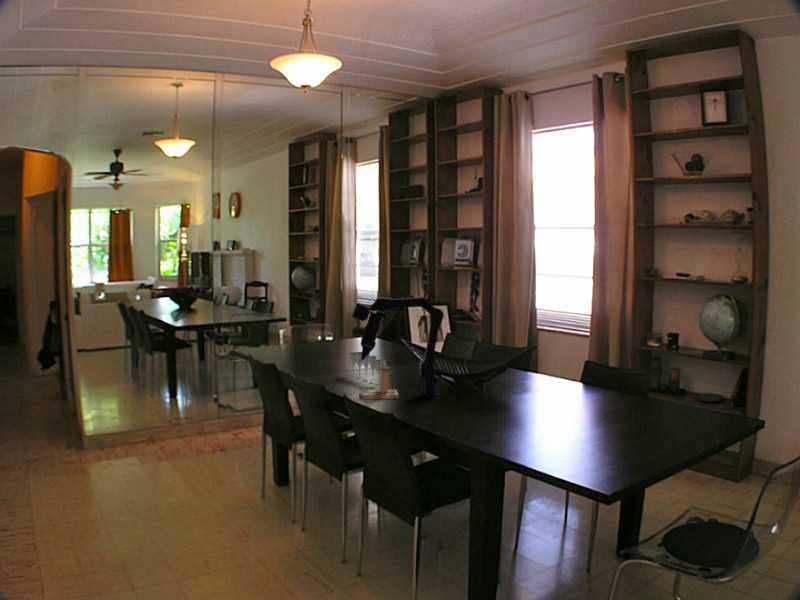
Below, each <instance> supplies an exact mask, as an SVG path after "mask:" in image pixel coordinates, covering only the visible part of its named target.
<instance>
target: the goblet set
mask: <svg viewBox="0 0 800 600" xmlns="http://www.w3.org/2000/svg"><path fill="white" fill-rule="evenodd" d="M361 357H362V351H357V352H349V354H348V360H349V362H350V363H351V366H352V374H351V375H348V377H349V378H354V379H355V380H359V379H360V380H361V381H362V382H368V384H371V385H373V384H374V386H375V387H380V373H381V370H380V366H387V364H386V360H385V359H378V358H377V356H376V355H371V354H370V353H369V354H368V355H367V357H366V358H365V359H364V360H362V359H361ZM356 365H357V367H358V374H359V375H355V374H354V372H355V366H356ZM369 365H370V368H371V371H372V372H371V373H372V375H371V376H374V373H375V372H374V371H376V372H377V373H378V376H379V377H378V378H379V382H378V383H377V382H376V381H374V380H372V381H371V379H367V375H368V368H369ZM362 366H363V367H364V368H365V377H361V367H362Z"/></svg>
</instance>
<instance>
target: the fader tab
mask: <svg viewBox="0 0 800 600" xmlns="http://www.w3.org/2000/svg"><path fill="white" fill-rule="evenodd" d="M380 370H381V373H380V386H379V390H380V391H381V393H388V390H389V372H390V368H389V366H388V365H386V366H380Z"/></svg>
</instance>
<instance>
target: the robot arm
mask: <svg viewBox="0 0 800 600" xmlns="http://www.w3.org/2000/svg"><path fill="white" fill-rule="evenodd" d="M414 307H422V308H423V309H424V310H425V311H426V312H427V313H428V314H429V319H428V320H429V330H428V336H427V342H426V347H425V354H424V358H423V360H419V367H418V371H419V372H418V373H420V376H421V378H422V379H423V381H422V384H421V385H422V386H421V389H422V391H421V392H422V393H420V396H424V397H427V398H428V397H429V398H434V397H439V396H440V395H441V393H439V379H438V376H437V375H436V373H435V372H434V371H435V370H434V368H435V367H434V366H435V365H434V356H435V351H436V345H437V339H438V333H439V330H440V328H441V324H442V322H443V319H444V312H443V310H442V309H441V308H439V307H435V306H433V304H432V303H431V302H429V301H428V300H427V298H426V297H424V296H421V297H409V298H408V297H406V298H391V297H382V296H380V297H377V298H376V299H375V300H374V302H373V303H372V304H370V305H369V306H367V305H364V304H361V303H359V302H357V303H356V306H355V309H354V310H353V313H352V316H351V318H352V319H355V320H358V321H361V322H365V321H367V323H366V325H365V326H353V327H352V328H351V334H352V336H353V337H355V336H360V337H361V338H360V340H361V341H360V346H361V347H362V350H361V352H362V357H361V359H362V360H364V359H365V358H366V357H367V355H368V354H370V353H371V352H372V351H373V350H374V348H375V347H376V344H377V343H376V339H377V335H378V333H379V331H380V329H381V328H380V327H381V324H382V321H383V319H388V316H387V313H386V311H389V310H391V309H395V308H414ZM369 314H370V315H369Z"/></svg>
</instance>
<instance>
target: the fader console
mask: <svg viewBox="0 0 800 600" xmlns="http://www.w3.org/2000/svg"><path fill="white" fill-rule="evenodd" d="M360 394H361V399H363V400H369V399H370V400H372V399H373V400H376V399H377V400H378V399H382V400H383V399H385V400H386V399H388V400H389V399H400V398H399V397H400V396H399V393H398V390H397V389H388V393H381V391H380V389H360Z"/></svg>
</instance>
